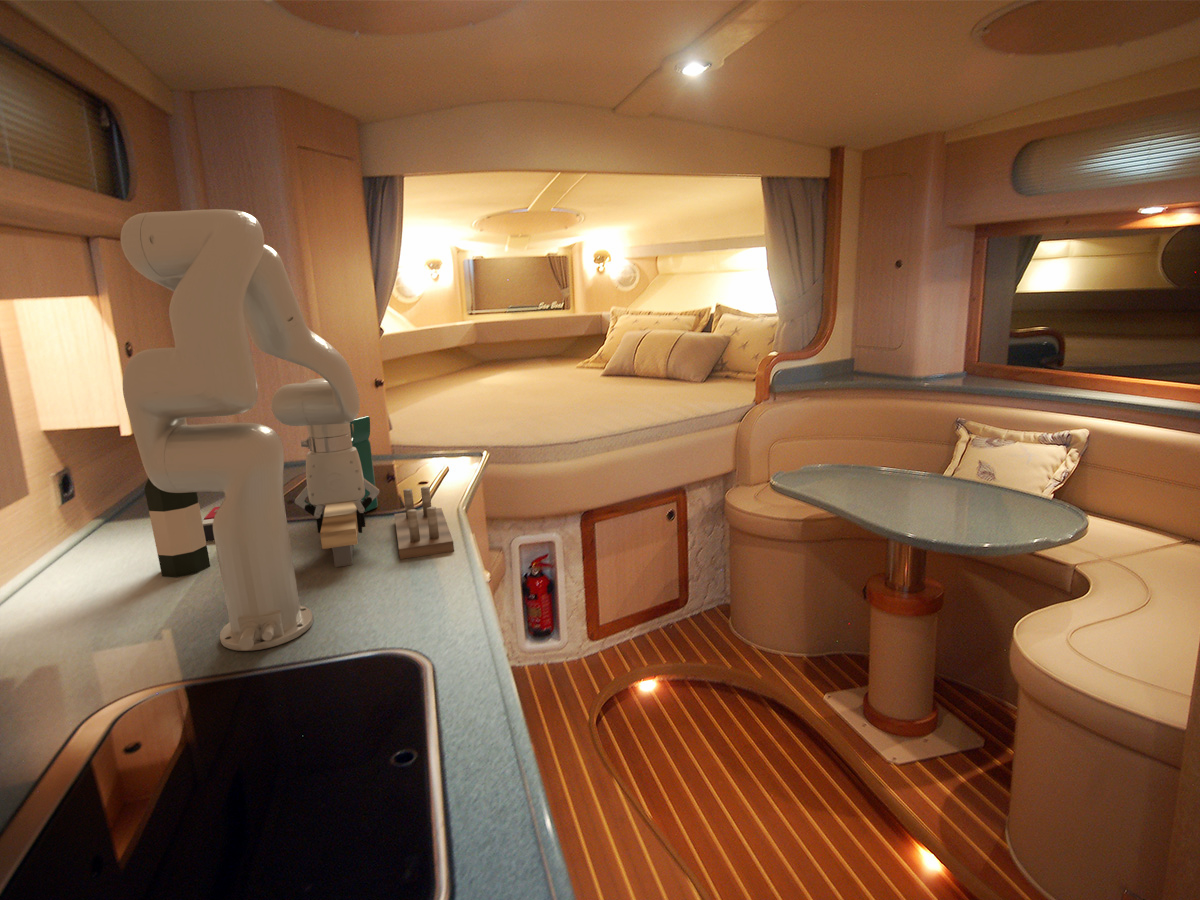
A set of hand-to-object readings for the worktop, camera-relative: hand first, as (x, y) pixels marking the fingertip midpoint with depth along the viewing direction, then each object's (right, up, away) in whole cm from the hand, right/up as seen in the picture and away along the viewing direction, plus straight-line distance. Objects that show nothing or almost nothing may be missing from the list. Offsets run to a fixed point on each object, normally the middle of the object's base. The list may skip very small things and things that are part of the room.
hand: (342, 532), depth 134 cm
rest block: (0, -3, +1) cm, 3 cm away
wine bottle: (-27, -6, -6) cm, 28 cm away
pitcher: (-6, +2, +24) cm, 25 cm away
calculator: (-29, -1, +16) cm, 33 cm away
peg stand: (+14, -1, +5) cm, 15 cm away
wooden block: (0, +1, 0) cm, 1 cm away
